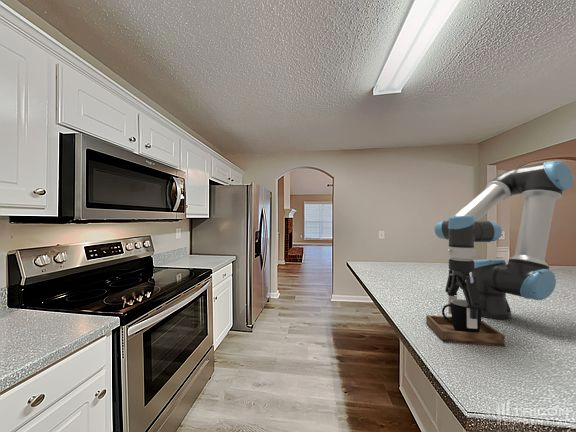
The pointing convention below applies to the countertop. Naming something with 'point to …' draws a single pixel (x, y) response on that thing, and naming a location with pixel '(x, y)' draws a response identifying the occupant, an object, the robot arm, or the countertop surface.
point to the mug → (461, 316)
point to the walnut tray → (449, 334)
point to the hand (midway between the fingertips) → (461, 320)
